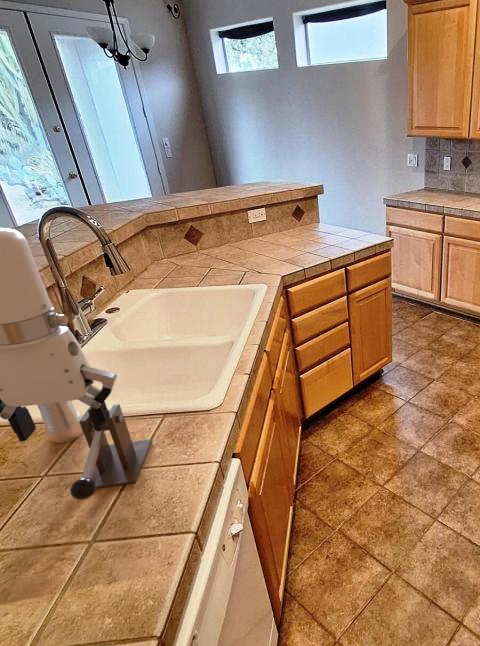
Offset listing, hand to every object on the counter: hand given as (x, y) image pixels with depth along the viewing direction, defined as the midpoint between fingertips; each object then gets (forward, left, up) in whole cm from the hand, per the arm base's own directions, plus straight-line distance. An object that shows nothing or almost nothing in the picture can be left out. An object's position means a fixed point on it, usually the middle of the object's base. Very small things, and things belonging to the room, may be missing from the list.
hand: (66, 430), depth 64 cm
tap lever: (-1, +6, -11) cm, 13 cm away
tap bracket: (-1, +12, -18) cm, 22 cm away
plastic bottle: (-14, +24, -18) cm, 33 cm away
